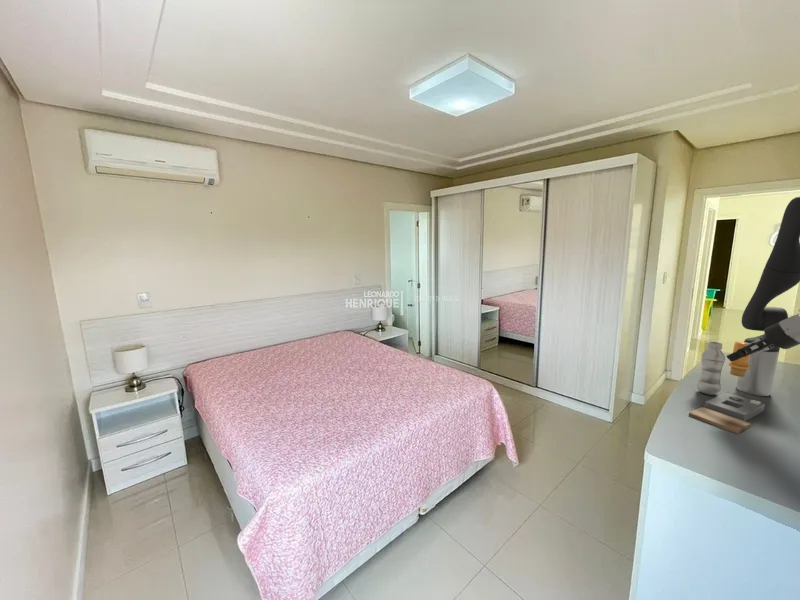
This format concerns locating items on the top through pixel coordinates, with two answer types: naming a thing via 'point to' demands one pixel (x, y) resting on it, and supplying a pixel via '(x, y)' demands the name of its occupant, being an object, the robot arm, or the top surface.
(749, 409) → the grey socket board
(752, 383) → the robot arm
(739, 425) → the board
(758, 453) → the top surface
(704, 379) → the plastic bottle
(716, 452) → the top surface
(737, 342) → the plug
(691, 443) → the top surface
